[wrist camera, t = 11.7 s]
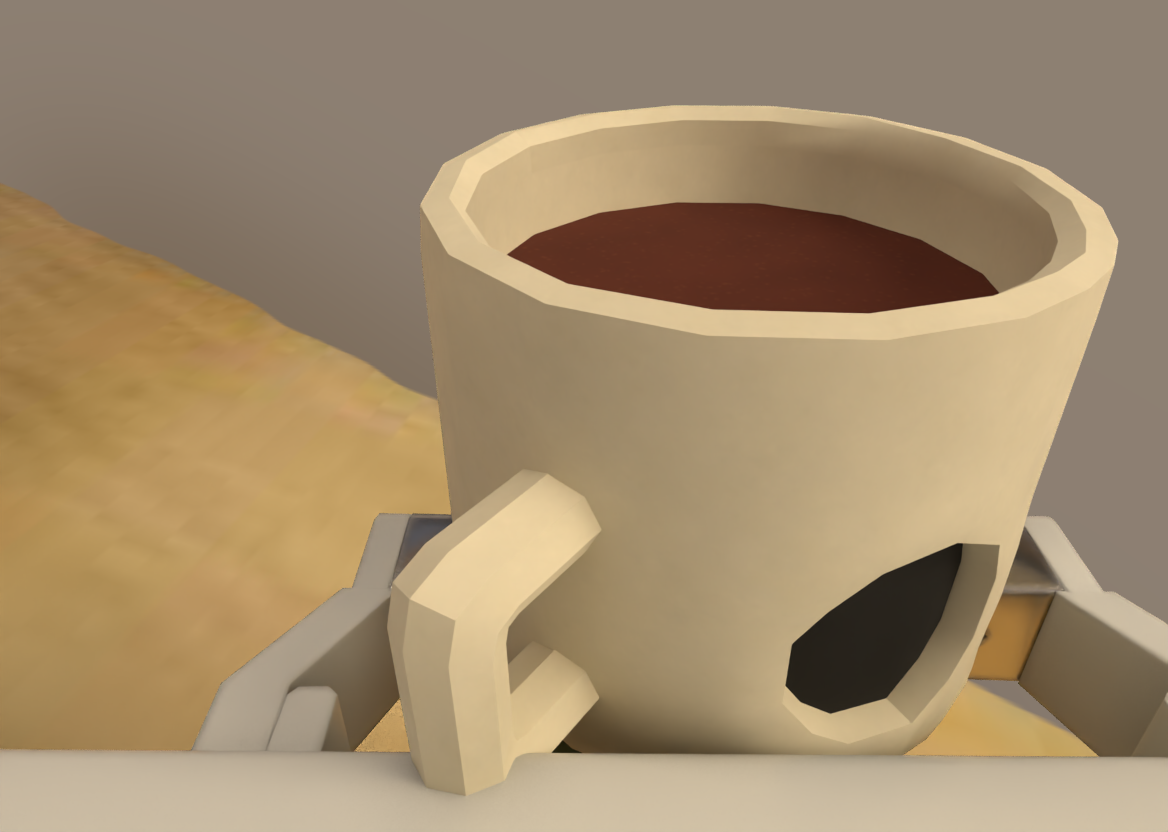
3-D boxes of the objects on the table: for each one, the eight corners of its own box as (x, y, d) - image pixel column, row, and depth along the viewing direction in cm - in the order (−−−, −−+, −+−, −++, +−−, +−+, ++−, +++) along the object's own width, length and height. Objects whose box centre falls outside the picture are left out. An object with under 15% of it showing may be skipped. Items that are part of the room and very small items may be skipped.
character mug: (699, 1350, 11) (897, 658, 4) (332, 985, 15) (80, 271, 7) (960, 749, 18) (1198, 122, 11) (673, 603, 22) (712, 56, 15)
